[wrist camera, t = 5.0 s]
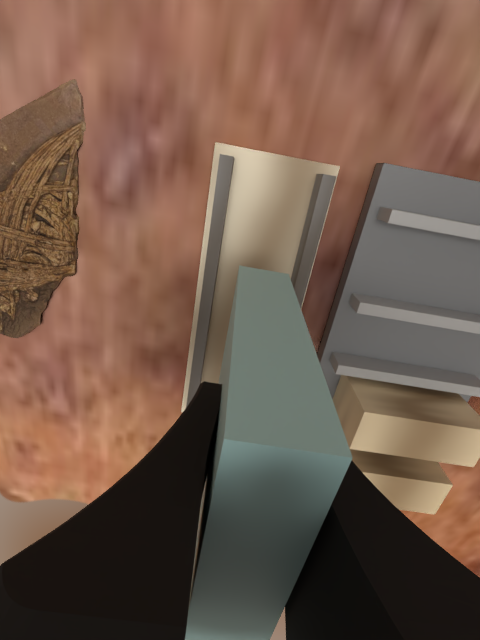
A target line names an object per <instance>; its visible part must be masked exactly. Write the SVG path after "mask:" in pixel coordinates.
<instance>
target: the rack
mask: <svg viewBox="0 0 480 640" xmlns="http://www.w3.org/2000/svg"><path fill="white" fill-rule="evenodd" d="M317 357H318V360H319V362H320V365H321V368H322V371H323V374H324V377H325V380H326V383H327V385H328V388H329V391H330V394H331V397H332V399H333V397H334V394H335V391H336V388H337V385H338V383H339V380H340V377H341V375H345V376H352V377H358V378H364V379H370V380H377V381H383V382H389V383H395V384H402V385H408V386H414V387H420V388H427V389H433V390H439V391H445V392H452V393H458V394H459V395H460V396H461V397H462V398H463V399H464V400H465V401H466V402H468V400H469V399H470V397H471V396H477V397H480V182H478V181H473V180H468V179H463V178H458V177H453V176H448V175H442V174H437V173H432V172H427V171H422V170H417V169H412V168H407V167H402V166H397V165H392V164H387V163H377V164H376V166H375V169H374V173H373V176H372V179H371V182H370V186H369V189H368V192H367V195H366V198H365V202H364V205H363V208H362V211H361V215H360V218H359V221H358V224H357V227H356V231H355V234H354V237H353V240H352V244H351V247H350V250H349V253H348V257H347V260H346V263H345V266H344V269H343V273H342V276H341V279H340V282H339V286H338V289H337V292H336V295H335V298H334V302H333V305H332V308H331V311H330V315H329V318H328V321H327V324H326V328H325V331H324V334H323V337H322V340H321V344H320V347H319V350H318V353H317Z"/></svg>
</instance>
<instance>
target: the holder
mask: <svg viewBox="0 0 480 640" xmlns="http://www.w3.org/2000/svg"><path fill="white" fill-rule="evenodd" d="M339 168H340V166H335V165H330V164H325V163H319V162H314V161H309V160H304V159H299V158H294V157H289V156H284V155H278V154H273V153H268V152H263V151H258V150H253V149H248V148H242V147H237V146H232V145H227V144H222V143H217V142H215V149H214V157H213V165H212V173H211V181H210V188H209V196H208V204H207V212H206V220H205V228H204V236H203V244H202V252H201V260H200V267H199V275H198V283H197V291H196V299H195V307H194V315H193V323H192V331H191V339H190V346H189V354H188V362H187V370H186V378H185V386H184V394H183V402H182V410H181V412H184V410H185V409H186V407H187V406H188V404H189V403H190V401H191V400H192V398H193V397H194V395H195V393H196V391H197V389H198V387H199V385H200V383H202V382H204V381H205V382H211V383H219V377H220V371H221V366H222V360H223V354H224V349H225V343H226V338H227V332H228V326H229V321H230V315H231V310H232V304H233V298H234V293H235V287H236V281H237V276H238V270H239V265H240V266H246V267H251V268H257V269H263V270H268V271H274V272H280V273H285V274H289V276H290V279H291V282H292V285H293V288H294V291H295V293H296V296H297V299H298V302H299V305H300V308H301V309H302V305H303V301H304V298H305V294H306V290H307V286H308V283H309V279H310V275H311V272H312V268H313V264H314V261H315V257H316V253H317V249H318V246H319V242H320V238H321V235H322V231H323V227H324V224H325V220H326V216H327V212H328V209H329V205H330V201H331V198H332V194H333V190H334V186H335V183H336V179H337V175H338V172H339Z"/></svg>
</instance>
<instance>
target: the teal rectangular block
mask: <svg viewBox="0 0 480 640" xmlns="http://www.w3.org/2000/svg"><path fill="white" fill-rule="evenodd" d="M218 384H222V391H221V403H220V408H219V414H218V419H217V425H216V430H215V435H214V441H213V446H212V452H211V457H210V462H209V468H208V473H207V478H206V482H205V486H204V491H203V495H202V499H201V507H200V515H199V523H198V532H197V540H196V548H195V557H194V565H193V574H192V583H191V591H190V600H189V609H188V618H187V627H186V635H185V640H270V638H271V636H272V634H273V631H274V629H275V627H276V625H277V622H278V620H279V618H280V616H281V614H282V612H283V609H284V607H285V605H286V603H287V601H288V598H289V596H290V594H291V592H292V590H293V588H294V585H295V583H296V581H297V579H298V577H299V574H300V572H301V570H302V568H303V566H304V563H305V561H306V559H307V557H308V555H309V552H310V550H311V548H312V546H313V544H314V542H315V539H316V537H317V535H318V533H319V531H320V528H321V526H322V524H323V522H324V520H325V517H326V515H327V513H328V511H329V509H330V506H331V504H332V502H333V500H334V498H335V495H336V493H337V491H338V489H339V487H340V485H341V482H342V480H343V478H344V476H345V474H346V471H347V469H348V467H349V465H350V463H351V460H352V458H353V457H352V454H351V452H350V449H349V446H348V443H347V440H346V437H345V434H344V431H343V429H342V426H341V423H340V420H339V417H338V414H337V411H336V408H335V406H334V403H333V400H332V397H331V394H330V391H329V388H328V385H327V383H326V380H325V377H324V374H323V371H322V368H321V365H320V362H319V360H318V357H317V354H316V351H315V348H314V345H313V342H312V339H311V337H310V334H309V331H308V328H307V325H306V322H305V319H304V316H303V314H302V311H301V308H300V305H299V302H298V299H297V296H296V293H295V291H294V288H293V285H292V282H291V279H290V276H289V274H285V273H280V272H274V271H268V270H263V269H257V268H251V267H246V266H240V265H239V270H238V276H237V281H236V287H235V293H234V298H233V304H232V310H231V315H230V321H229V326H228V332H227V338H226V343H225V349H224V354H223V360H222V366H221V371H220V377H219V383H218Z"/></svg>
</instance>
